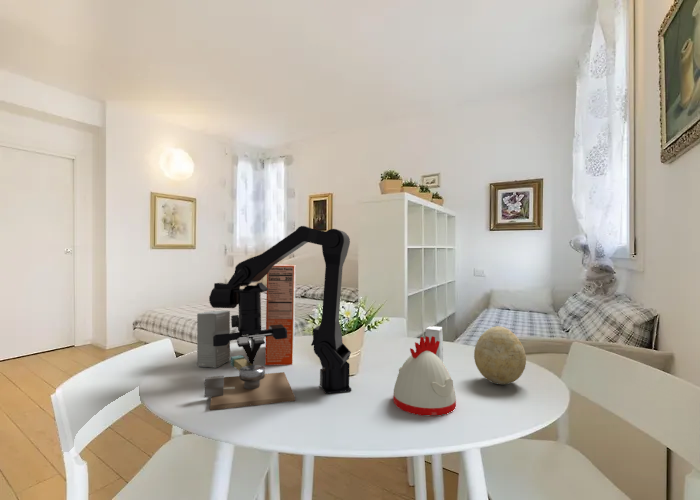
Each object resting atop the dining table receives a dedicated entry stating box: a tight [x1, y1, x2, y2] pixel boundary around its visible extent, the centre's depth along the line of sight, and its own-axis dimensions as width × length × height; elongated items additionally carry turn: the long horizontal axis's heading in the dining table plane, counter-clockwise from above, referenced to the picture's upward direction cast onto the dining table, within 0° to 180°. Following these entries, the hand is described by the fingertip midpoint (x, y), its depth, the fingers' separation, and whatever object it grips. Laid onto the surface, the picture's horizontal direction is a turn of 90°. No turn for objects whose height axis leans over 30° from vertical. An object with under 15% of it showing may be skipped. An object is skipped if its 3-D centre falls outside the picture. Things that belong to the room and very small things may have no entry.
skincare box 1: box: [196, 310, 231, 369], centre depth 109 cm, size 8×7×16 cm
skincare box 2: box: [425, 325, 444, 363], centre depth 108 cm, size 6×4×12 cm
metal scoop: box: [230, 354, 266, 381], centre depth 91 cm, size 16×6×2 cm, turn 34°
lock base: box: [203, 371, 296, 411], centre depth 88 cm, size 20×19×5 cm
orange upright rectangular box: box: [264, 263, 297, 366], centre depth 120 cm, size 23×8×30 cm, turn 7°
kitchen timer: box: [392, 335, 457, 416], centre depth 82 cm, size 14×14×15 cm
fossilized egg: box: [473, 325, 527, 385], centre depth 96 cm, size 13×13×15 cm
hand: (251, 367), depth 96 cm, fingers closed
